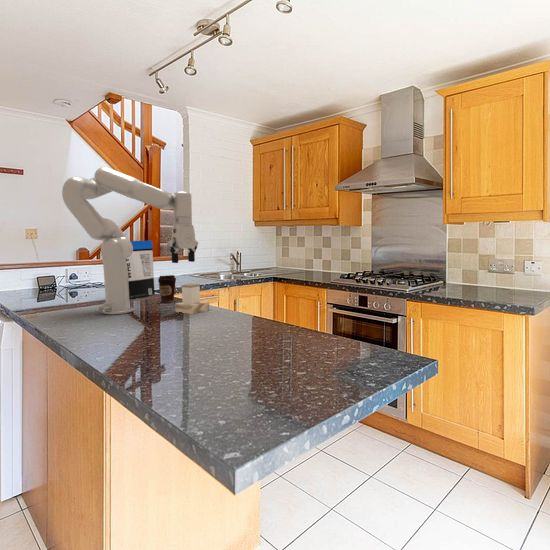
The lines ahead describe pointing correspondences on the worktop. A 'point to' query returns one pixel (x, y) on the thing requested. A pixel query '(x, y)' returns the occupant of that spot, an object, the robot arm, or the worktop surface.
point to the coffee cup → (167, 288)
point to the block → (192, 307)
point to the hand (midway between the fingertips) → (183, 262)
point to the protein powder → (140, 270)
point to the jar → (190, 293)
